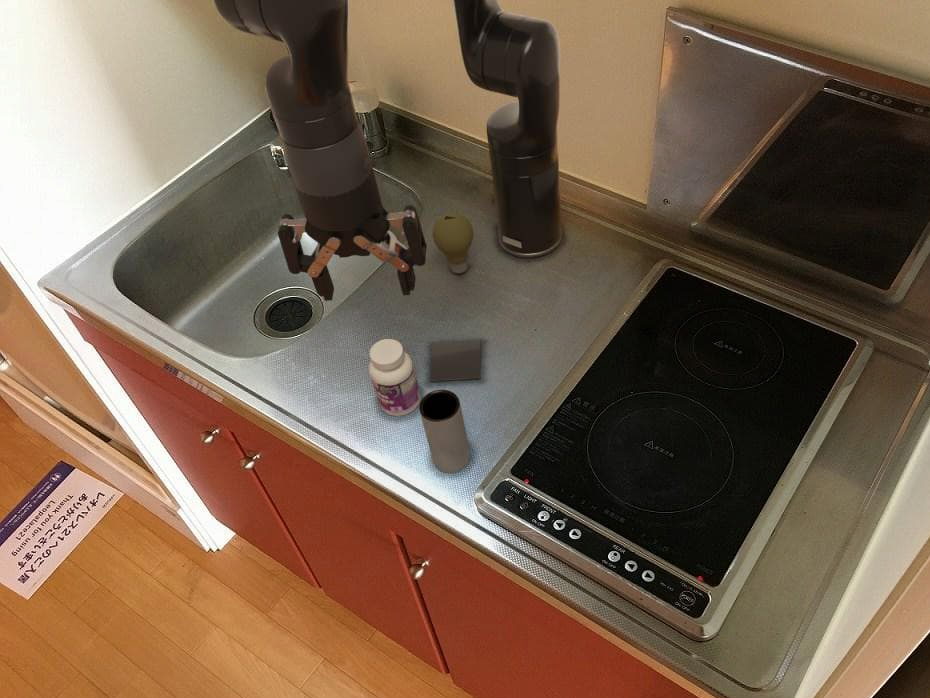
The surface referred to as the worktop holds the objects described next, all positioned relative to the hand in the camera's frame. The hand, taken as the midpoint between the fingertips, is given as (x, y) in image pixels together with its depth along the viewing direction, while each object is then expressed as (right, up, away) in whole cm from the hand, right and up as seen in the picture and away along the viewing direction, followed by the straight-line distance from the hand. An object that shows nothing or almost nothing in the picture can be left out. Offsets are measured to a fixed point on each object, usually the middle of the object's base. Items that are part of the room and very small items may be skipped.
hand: (368, 292), depth 89 cm
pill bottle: (+2, -12, +15) cm, 19 cm away
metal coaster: (+8, -7, +18) cm, 21 cm away
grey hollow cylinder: (+8, -19, +9) cm, 22 cm away
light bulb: (+8, +6, +29) cm, 31 cm away
